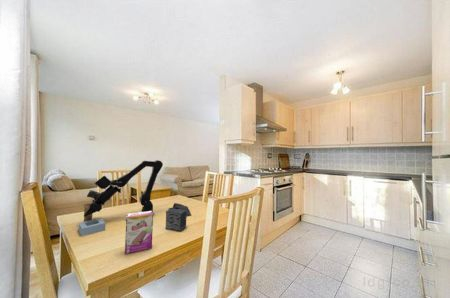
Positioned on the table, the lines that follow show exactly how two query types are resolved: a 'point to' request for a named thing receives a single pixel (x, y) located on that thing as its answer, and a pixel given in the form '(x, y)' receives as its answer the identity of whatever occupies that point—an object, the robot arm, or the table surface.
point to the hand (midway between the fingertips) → (85, 214)
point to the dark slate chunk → (181, 208)
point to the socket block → (91, 226)
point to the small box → (176, 219)
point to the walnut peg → (86, 211)
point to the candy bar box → (138, 231)
